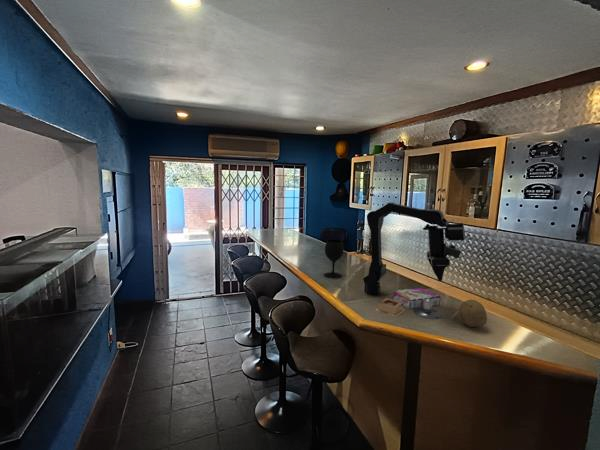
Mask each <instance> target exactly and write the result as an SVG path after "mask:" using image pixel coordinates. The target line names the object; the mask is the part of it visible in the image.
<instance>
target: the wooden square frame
mask: <svg viewBox="0 0 600 450" xmlns="http://www.w3.org/2000/svg"><path fill="white" fill-rule="evenodd" d="M387 303H393V304H394V306H392V305H388V304H387ZM377 308H378V310H380V311H383V312H386V313H389V314H392V315H396V314H398V313H399V312H400V311H402V310H403V309H404V305H403V303H402V302H399V301H396V300H394V299H393V298H389V297H385V298H384V299H382V300H380V301H379V302H377ZM380 311H379V312H380ZM383 312H382V313H383ZM386 313H385V314H386ZM389 314H388V315H389ZM392 315H391V316H392Z"/></svg>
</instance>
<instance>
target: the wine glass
mask: <svg viewBox="0 0 600 450" xmlns="http://www.w3.org/2000/svg"><path fill="white" fill-rule="evenodd" d="M324 253H325V255H326V258H327V259H328V260H329V261H331V263H332V267H331V268H332V270H331V272H324V274H323V276H324V277H325V278H329V279H341V278H343V274H341V273H338V272H335V263H336V262H338V261H339V260H340V259H341V258H342V256H343V254H344V242H343V240H339V239H327V240H326V242H325V246H324Z"/></svg>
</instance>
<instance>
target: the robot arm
mask: <svg viewBox="0 0 600 450" xmlns="http://www.w3.org/2000/svg"><path fill="white" fill-rule="evenodd" d="M392 213H395V214H399V215H404V216H408V217H412V218H416V219H418V220H421V221H423V222H425V223H427V224H426V225H425V226H424V227H423V228H422V231H427V232H428V243H427V245H428V251H427V252H426V258H427V260H428V262H429V265H430V267H431V269H432V270H433V273H434V275H435V276H436V278H437V280H438V282H442V281H443V277H444V271H445V269H447V267H449V266H450V263H451V262H450V259H449V258H448V256H449V257H453V258H455V259H459V257H460V255H461V253H462V252H461V250H460V249H458V248H456V246H455V245H453V244H449V246H447V243H445V239H446V240H448V242H449V241H452V242H453V241H454V242H455V241H465V240H466V230H465V227H464V226H465V225H464V223H463V222H459V223H449V221H448V220H447V219H446V218H445V215H444V213H443V212H442V210H440V209H429V208H427V209H425V208H424V209H423V208H422V209H421V208H418V207H413V206H410V205H409V206H408V205H404V204H400V203H396V202H388V203H386V204H384V205H383V206H381V207H380V208H378V209H376V210H373V211H369V212H368V213H367V215H366V220H367V222H366V223H367V225H368V228H369V229H370V248H371V249H370V250H371V262H370V265H369V268H368V275H366V276H365V277H364V278H363V283H364V287H363V288H364V289H363V291H364V293H365V294H367V295H370V296H371V295H372V296H379V295H381V282H380V281H381V279H383V278H384V277H385V276H386V273H388V272H387V264H386V263H383V260H382V228H383V224H384V219H385V217H387V216H390V214H392Z"/></svg>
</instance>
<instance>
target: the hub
mask: <svg viewBox="0 0 600 450" xmlns="http://www.w3.org/2000/svg"><path fill="white" fill-rule="evenodd" d="M413 313H414V314H415V315H416V316H417V317H418V316H419V317H421V318H423V319H428V320H436V319H437V320H438V319H440V318H441V317H442V314H441V312H440V311H438V310H437V309H434V308H433V305H432V302H431V300H430V299H425V301H424V302H423V307H416V308H413Z"/></svg>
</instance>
